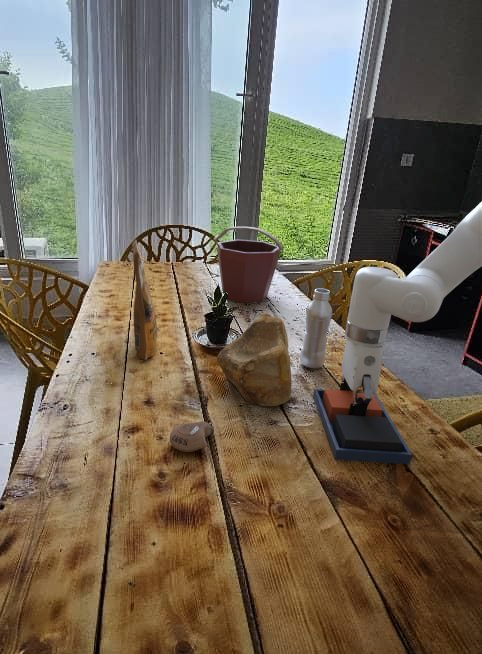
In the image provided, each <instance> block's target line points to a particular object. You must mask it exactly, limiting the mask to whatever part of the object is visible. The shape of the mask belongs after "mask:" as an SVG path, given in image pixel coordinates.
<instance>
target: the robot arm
mask: <svg viewBox="0 0 482 654" xmlns="http://www.w3.org/2000/svg"><path fill="white" fill-rule="evenodd" d="M481 267H482V201H481V202H479V203H478V205H476V206H475V208H473V209H472V210H471V211H470V212H469V213H468V214H467V215H466V216H465V217H464V218H463V219H461V221H460V222H459V223H458V224H457V225H456V226H455V228H454V229H453V231H452V232H451V233H450V234H449V235H448V236H447V237H446V238H445V239H444V240H443V241H442V242H441V243H440V244H439V245H438V246H437V247H436V248H435V249H433V251H431V253H430V254H429V255H427V256H426V257H425V258H424V259H423V260H422V261H421V262H420V263H419V264H418V265H417V266H416V267H415V268H414V269H413V270H412V271H411V272H410V273H409V274H408V275H406V277H404V278H401V277H399V276H398V274H397V273H396V272H395V271H394V270H391V269H388V268H385V267H379V266H365V267H361V268H360V269H358V270H357V271H356V273H355V275H354V276H355V277H354V280H353V286H352V293H351V297H350V302H349V308H348V315H347V320H346V326H345V330H344V331H345V332H344V338H345V339H346V342H345V346H344V350H343V355H342V359H341V373H342V376H341V379H340V380H341V381H340V386H339V390H344V391H353V403H350V408H349V413H348V415H353V416H366V411H367V407H368V405H369V403H370V401H371V400H372V393H375V394H376V393H377V392H378V389H379V383H380V379H381V371H382V364H383V354H384V353H383V351H384V347H383V346H384V345H385V344H386V341H387V336H388V331H389V326H390V322H391V318H392V316H394V317H396V318H400V319H402V320H404V321H408V322H411V323H424V322H427V321H429V320H431V319H432V318H433V317H435V316H436V315H437V314H438V312H439V311H440V308H441V305H442V303H443V301H444V299H445V298H446V296H448V295H449V294H450V293H451V292H452V291H453V290H454V289H455V288H457V287H458V286H459V285H460V284H461V283H462V282H463V281H464V280H466V279H467V278H468V277H469V276H471V275H472V274H473V273H474V272H476V271H477V270H478V269H480V268H481ZM358 388H362V389H358ZM357 393H363V396H362V397H360V398H358V399H357Z"/></svg>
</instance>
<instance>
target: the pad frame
mask: <svg viewBox="0 0 482 654" xmlns="http://www.w3.org/2000/svg"><path fill="white" fill-rule="evenodd" d="M324 391H325V388H314V389H313V394H312V395H313V396H312V398H313V401H314V403H315V407H316V409H317V412H318V415H319V418H320V420H321V424H322V427H323V429H324V430H323V431H324V432H325V435H326V438H327V441H328V444H329V448H330V449H331V450H330V451H331V453H332V456H333V457H334V460H339V461H353V462H354V461H355V462H368V463H382V464H383V463H385V464H400V465H410V464H411V463H412V458H413V453H412V451H411V450H410V449H409V447H408V445H407V444H406V442H405V440H404V438H403V437H402V436H401V434H400V432H399V430H398V428H397V426H396V425H395V423H394V421H393V420H392V418H391V417H390V415H389V414H388V412H387V410H386V408H385V407H384V405H383V404H382V402H381V401H380V399H379V397H378V395H377V394H376V393H373V395H374V397H375V398H376V400H377V402H378V403H379V405H380V407H381V409H382V415H381V417H385V418H388V420H389V421H390V423H391V425H392V426H393V428H394V430H395V431H396V433H397V435H398V437H399V438H400V440H401V442H402V447H401V451H400V452H391V451H376V450H360V449H345V448H339V445H338V442H337V440H336V437H335V434H334V432H333V424H334V422H329V419H328V417H327V414H326V411H325V409H324V406H323V397H324Z"/></svg>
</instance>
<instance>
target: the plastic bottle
mask: <svg viewBox="0 0 482 654" xmlns="http://www.w3.org/2000/svg"><path fill="white" fill-rule="evenodd" d="M330 294H331V291H330V290H329V289H327V288H316V289H314V293H313V296H312V298H313V299H312V300H311V301H310V303H308V305H307V306H306V309H305V333H304V338H303V341H302V346H301V349H300V351H299V361H300V362H301V364H302V365H303V366H304V367H307V368H310V369H319V368H321V367H323V365H324V364H325V361H326V359H327V358H326V357H327V350H326V346H327V337H328V332H329V327H330V324H331V321H332V317H333V308H332V306H331V304H330V302H329V300H330V299H331V298H330Z"/></svg>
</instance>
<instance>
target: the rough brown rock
mask: <svg viewBox="0 0 482 654" xmlns="http://www.w3.org/2000/svg"><path fill="white" fill-rule="evenodd" d="M290 357H291V356H290V353H289V338H288V334H287V329H286V325H285V321H283V320H282V318H280V317H278V316H274V315H273V316H271V315H270V314H268V313H267V312H261V313H259V314H258V315H257V316H256V318H255V319H254V320H253V321H252V323H250V325H249V327H247V328H246V330H244V332H243V333H242V334H241V335H240V336H239V337H238V338H236V339H235V340H233V341H232V342H230V343H228V344H227V345H225V346H224V347H223V349H221V351H219V353H218V355H217V357H216V364H217V365H218V367H220V369H221V370H222V372H223V374H224V376H225V377H226V379H228V381H229V382H231V383H232V384H233V385H234V386H235V387H236V389H237V390H238V391H239V393H240V394H241V396H242V398H243V399H244V400H245V401H246V402H247V403H249V404H250V405H254V404H256V405H259V406H261V407H278V406H280V405H283V404H285V403H287V402H289V400H290V399H291V396H292V368H291V367H292V366H291V358H290Z"/></svg>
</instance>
